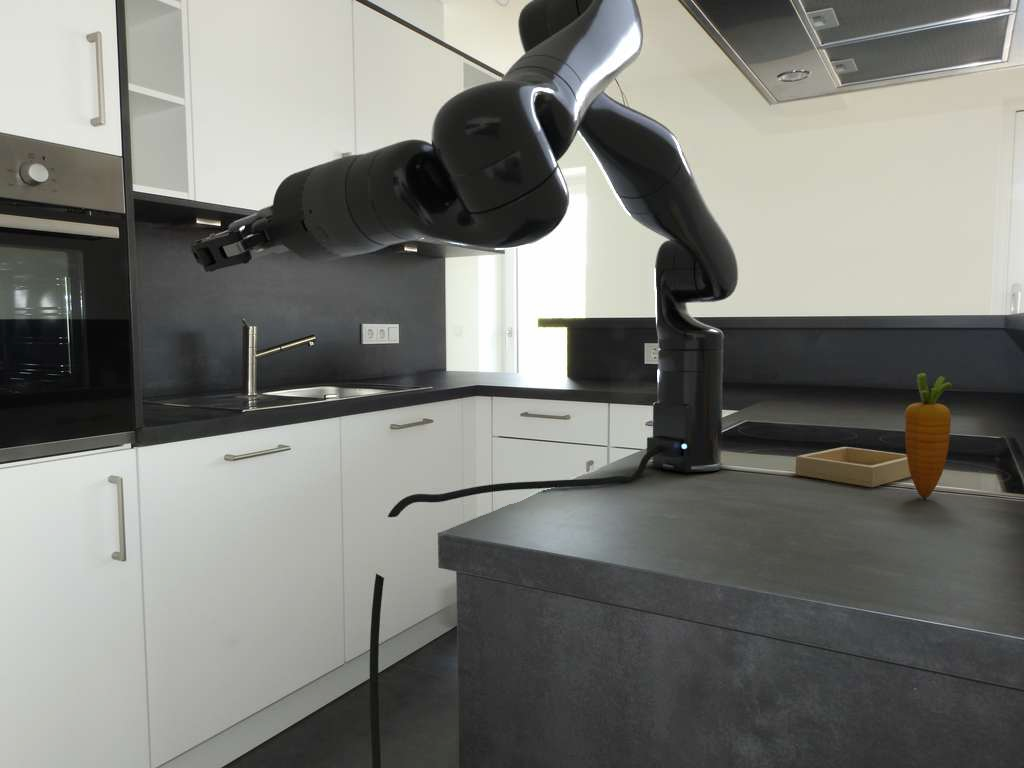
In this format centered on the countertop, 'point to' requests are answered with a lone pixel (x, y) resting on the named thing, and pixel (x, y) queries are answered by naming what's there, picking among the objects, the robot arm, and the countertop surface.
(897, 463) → the tray
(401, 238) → the robot arm
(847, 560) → the countertop surface
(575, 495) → the countertop surface
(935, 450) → the carrot
